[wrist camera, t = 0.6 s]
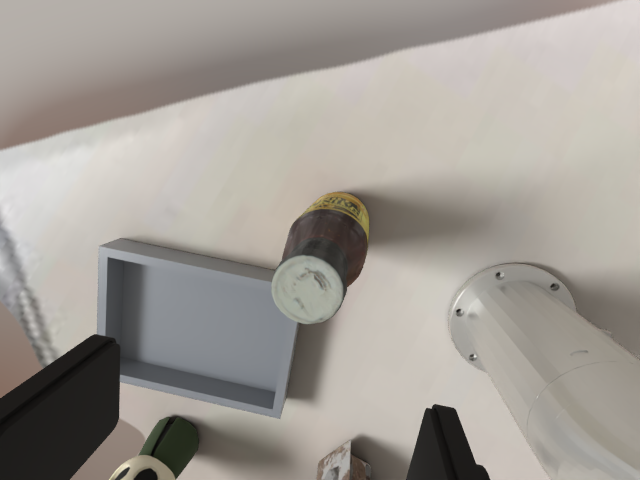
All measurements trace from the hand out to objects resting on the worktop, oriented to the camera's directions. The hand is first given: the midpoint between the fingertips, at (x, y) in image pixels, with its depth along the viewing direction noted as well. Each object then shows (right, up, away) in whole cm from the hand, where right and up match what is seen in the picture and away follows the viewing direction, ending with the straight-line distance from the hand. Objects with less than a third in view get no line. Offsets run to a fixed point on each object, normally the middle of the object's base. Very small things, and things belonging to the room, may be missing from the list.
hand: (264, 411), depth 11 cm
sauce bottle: (+4, +7, +28) cm, 29 cm away
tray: (-12, -5, +32) cm, 34 cm away
